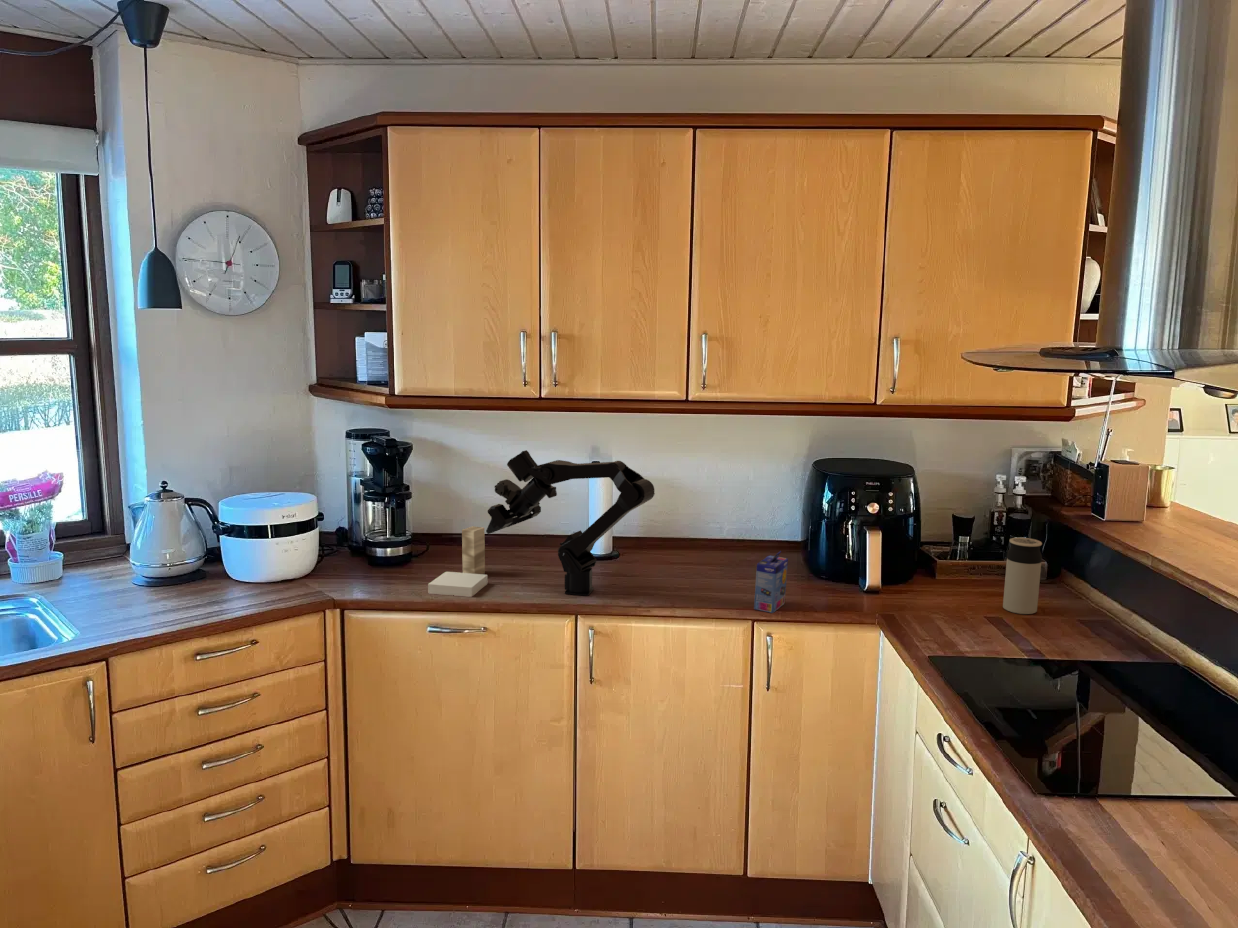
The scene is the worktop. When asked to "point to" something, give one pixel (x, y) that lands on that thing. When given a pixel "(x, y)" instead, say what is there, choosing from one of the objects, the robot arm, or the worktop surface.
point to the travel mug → (1022, 576)
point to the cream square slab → (458, 584)
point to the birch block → (473, 550)
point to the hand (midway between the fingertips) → (496, 529)
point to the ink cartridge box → (770, 583)
